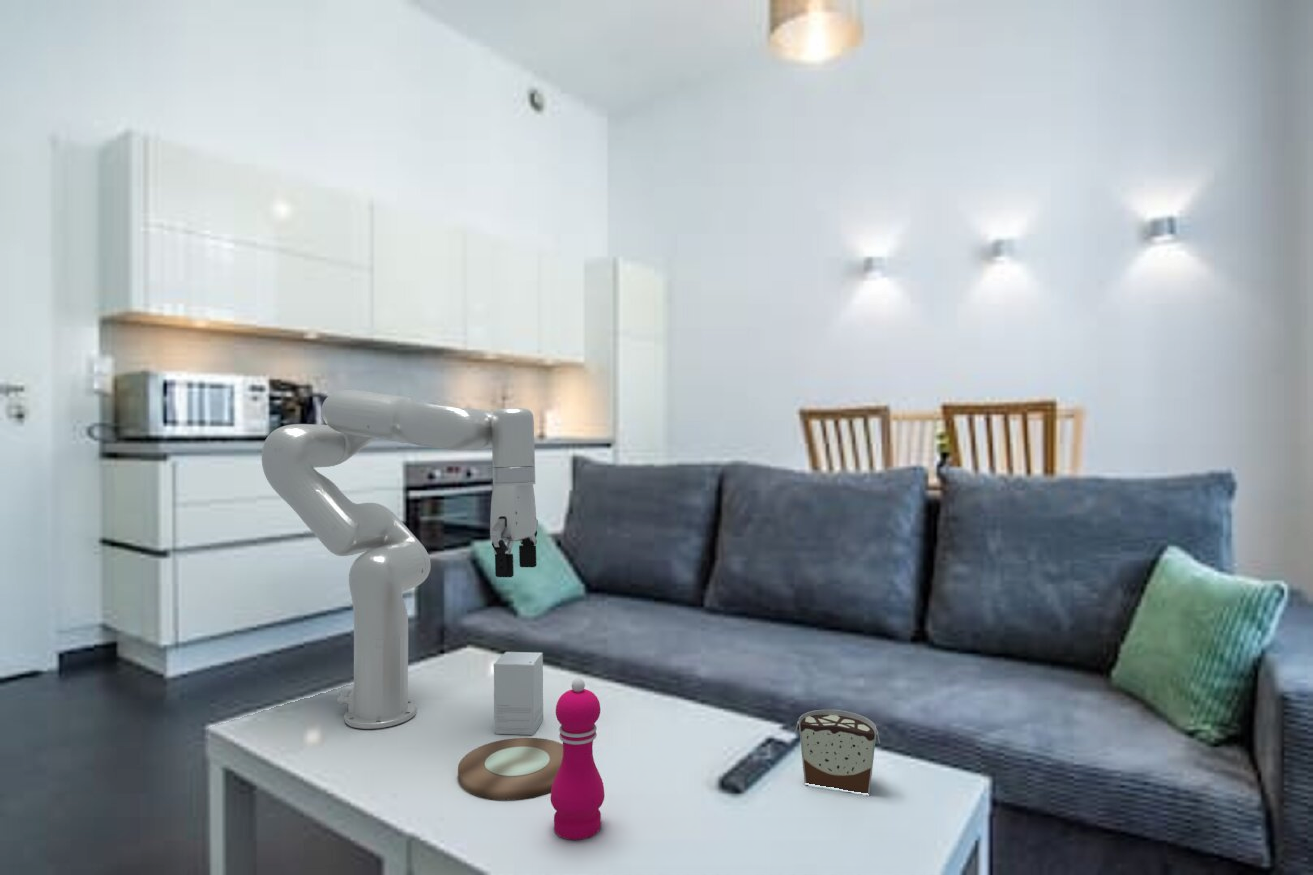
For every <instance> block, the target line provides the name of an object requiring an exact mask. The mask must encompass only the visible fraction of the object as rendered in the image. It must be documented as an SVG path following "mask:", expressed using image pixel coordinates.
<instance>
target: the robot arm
mask: <svg viewBox="0 0 1313 875" xmlns="http://www.w3.org/2000/svg"><path fill="white" fill-rule="evenodd" d="M321 416H322V419H323V421H324V423H325V424H314V423H313V424H312V423H311V424H309V423H297V424H296V423H294V424H287V425H284V426H281V427H277V428H276V429H274V430H272V432H270V434H269V435H268V436H267V437H266V439H265V440H264V442H263V446H262V450H261V465H262V471H263V473H264V477H265V478H266V480H267V482H268V483H269V485H270V486H271V488H272V489H273V490H274V491H275V492H276V493H277V495H278V496H279V497H280V498H281V499H283V501H284V502H286V504H287V505H288V506H289V507H290V508H292V510H293V511H294V512H295V513H296V514H297V515H298V517H299V518H300V520H301V521H302V522H303V523H304V524H305V525H306V527H308V529H309V530H310V531H311V532H312V533H313V534H314V535H315V537H316V538H317V539H318V540H319V541H320V542H321V544H322V545H323V546H324V547H325V548H326V549H327V550H328V551H329V552H330V553H331V554H333V555H336V556H338V557H348V556H353V555H357V554H360V555H359V556H358V557H357V558H356V559H355V560H354V561H353V563H352V565H351V567H350V569H349V573H348V587H349V590H350V591H349V592H350V596H351V601H352V602H351V603H352V611H353V689H349V688H348V689H347V688H343V689H341V690H340V691H339V696H338V697H337V700H336V702H337V704H339V705H340V704H341V705H346V704H347V706H348V709H347V710H346V711H345V713H344V716H343V717H344V723H345V724H346V725H347V726H349V727H351V728H356V729H361V730H362V729H363V730H375V729H376V730H377V729H384V728H389V727H393V726H397V725H400V724H403V723H405V722H407V721H409V720H411V719H412V718H413V717H414V716H415V715H416V714H417V709H418V708H417V704H416V703H415V702H414V701H412V700H410V699H408V698H409V614H408V610H407V607H406V603H405V600H404V598H403V597H404V596H403V593H404V592H407V591H408V590H412V589H415V588H416V587H418V586H420V585H421V584H422V583H424V582H425V581H426V579H427V578H428V577H429V574H430V572H431V569H432V568H431V566H432V564H431V558H430V555H429V553H428V552H427V549H426V548H425V546H424V545H423V544H422V543H421V542H420V540H419V539H418V538H417V537H416V536H415V535H414V534H413V533H412V531H411V530H410V529H409V528H408V527H407V526H406V525H405V524H404V522H402V520H401V519H400V518H399V517H398V516H397V515H396V514H395V513H394V512H393V511H392V510H390V509H389V508H388V507H386V506H384V505H382V504H380V503H377V502H363V503H355V502H353V501H351V500H350V499H349V498H348V497H347V496H346V495H345V494H344V493H343V491H341V489H340V488H339V487H338V486H337V484H336V483H334V482H333V481H332V480H330V479H329V478H328V477H326V476H325V475H323V474H322V473H320V472H319V471H317V470H316V469H315V468H328V467H335V466H339V465H342V464H343V463H344V462H346V461H348V460H349V459H350V458H352V457H353V456H354V455H356V454H357V453H358V452H360V451H361V450H362V449H364V448H365V447H366V446H367V445H368V444H370V443H372V441H374V440H375V439H379V440H380V439H381V440H385V441H392V442H397V443H401V444H411V445H416V446H423V447H429V448H435V449H441V450H448V451H481V450H482V451H483V450H489V449H491V452H492V453H491V454H492V456H491V458H492V493H491V502H490V526H489V530H490V531H489V536H490V539H491V541H492V542H491V546H492V548H493V554H494V564H495V565H494V566H495V567H494V569H495V570H494V571H495V572H494V574H495V577H496V578H513V576H515V575H514V574H515V573H514V572H515V571H514V570H515V569H514V554H513V553H512V550H513V546H514V543H515V542H520V545H519V546H518V554H519V555H518V558H519V559H518V561H519V567H521V568H536V567H537V566H538V565H537V542H538V540H537V535H538V523H539V519H537V510H536V509H537V508H536V507H537V506H536V496H535V489H534V485H536V459H535V458H536V457H535V456H536V455H535V454H536V453H535V450H536V449H535V422H534V414H533V412H532V411H531V410H530V409H528V408H521V407H520V408H519V407H518V408H516V407H514V408H499V409H496V410H486V409H478V408H477V409H476V408H470V407H469V408H468V407H456V406H448V405H447V406H446V405H440V404H432V403H425V402H419V401H413V399H412V397H411V398H410V397H408V396H401V395H396V394H386V393H379V392H378V393H377V392H374V391H369V390H368V391H367V390H359V389H358V390H357V389H351V388H350V389H349V388H348V389H339V390H336V391H334V392H332V393H330V394H329V395H328V396H327V397H326V398H325V399H324V401H323V403H322V405H321Z"/></svg>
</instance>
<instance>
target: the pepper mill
mask: <svg viewBox="0 0 1313 875" xmlns="http://www.w3.org/2000/svg"><path fill="white" fill-rule="evenodd" d="M585 686H586V684H585V681H584V680H583V679H581V678H579V677H578V678H575V679H574V680H573V681H572V682H571V689H569V690H567V691H565V692H564V693H562V694H561V696H560V697H559V698H558V700H557V702H556V704H555V705H556V706H555V717H556V719H557V721H558V723H559V724H560V726H559V728H558V731H559V735H558V738H559V740H560V741H561V742H562V744H563V758H562V762H561V766H560V768H559V770H558V772H557V774H556V777H555V779H554V782H553V785H552V789H551V792H550V803H551V805H552V807H553V809H554V810H555V813H554V815H553V819H554V820H553V830H554V832H555V833H556V835H558V836H559V837H560V838H563V839H566V840H575V841H577V840H584V839H588V838H591V837H593V836H594V835H596V834H597V833H598V832H599V831H600V829H601V823H602V822H601V821H602V820H601V818H602V815H601V814H602V813H601V811H600V808H601V807H602V806H603V803H604V801H605V787H604V782H603V780H602V777H601V773H600V772H599V770H598V767H597V766H596V762H595V760H594V755H593V752H594V751H593V747H594V740H595V739H597V734H598V733H597V730H598V729H597V725H596V722H597V721H598V719H599V718H600V715H601V703H600V700H599V697H598V696H597V695H596V694H595V693H594V692H592V691H591V690H589V689H586V688H585Z"/></svg>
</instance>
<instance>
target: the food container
mask: <svg viewBox="0 0 1313 875" xmlns="http://www.w3.org/2000/svg"><path fill="white" fill-rule="evenodd" d="M798 730H799V731H798ZM796 732H799V740H800V748H801V749H800V750H801V760H802V768H803V769H802V770H803V779H804V784H805V783H809V784H815V785H820V786H826V787H834V788H839V789H843V790H848V791H854V792H861V793H868V794H869V795H870V792H871V786H872V785H871V782H872V776H873V766H874V758H875V757H874V756H875V749H876V743H877V742H876V741H877V740H878V744H881V740H880V736H879V731H878V729H877V726H876V724H875V723H874V722H873V721H872V720H870V719H869V718H868V717H865V716H863V715H860V714H858V713H854V712H850V711H847V710H846V711H845V710H840V709H839V710H838V709H818V710H812V711H808V712H805V713H803V714H801V715H800V717H798V720H797V721H796V726H795V733H796Z"/></svg>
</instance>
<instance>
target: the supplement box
mask: <svg viewBox="0 0 1313 875" xmlns="http://www.w3.org/2000/svg"><path fill="white" fill-rule="evenodd" d="M493 710H494V712H493V717H494V718H493V720H494V723H493V724H494V725H493V726H494V734H495V735H518V736H519V735H520V736H521V735H522V736H524V735H525V736H534V735H535V733H536V732H537V730H538V728H539V727H540V725H541V724H542V722H543V720H544V653H543V652H532V651H531V652H524V651H522V652H521V651H519V652H518V651H505V652H504V653H503V654H502V655H501V656H500V657H499V658H498V659H497V660H496V661H495V662H494V663H493Z"/></svg>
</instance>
